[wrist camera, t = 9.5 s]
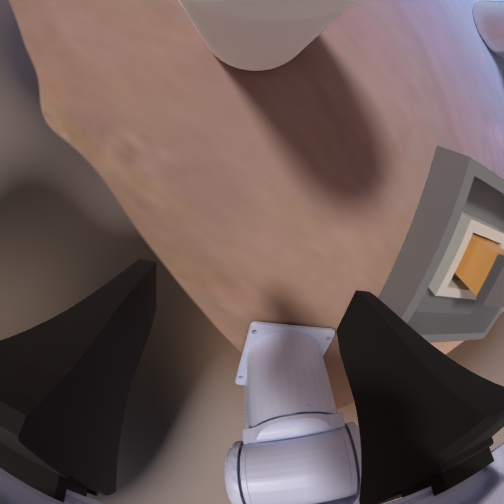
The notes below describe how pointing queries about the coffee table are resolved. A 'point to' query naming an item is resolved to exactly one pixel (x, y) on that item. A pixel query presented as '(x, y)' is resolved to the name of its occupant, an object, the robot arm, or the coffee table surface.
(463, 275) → the plug
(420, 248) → the box
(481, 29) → the beer glass
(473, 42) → the coffee table surface
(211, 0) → the can
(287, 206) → the coffee table surface
